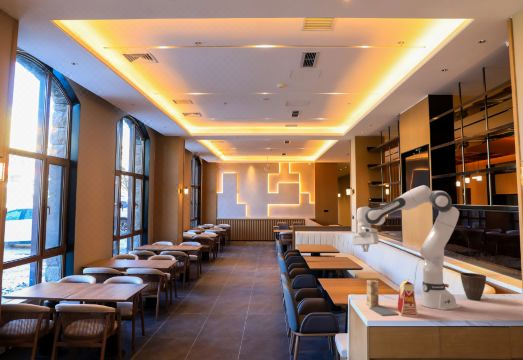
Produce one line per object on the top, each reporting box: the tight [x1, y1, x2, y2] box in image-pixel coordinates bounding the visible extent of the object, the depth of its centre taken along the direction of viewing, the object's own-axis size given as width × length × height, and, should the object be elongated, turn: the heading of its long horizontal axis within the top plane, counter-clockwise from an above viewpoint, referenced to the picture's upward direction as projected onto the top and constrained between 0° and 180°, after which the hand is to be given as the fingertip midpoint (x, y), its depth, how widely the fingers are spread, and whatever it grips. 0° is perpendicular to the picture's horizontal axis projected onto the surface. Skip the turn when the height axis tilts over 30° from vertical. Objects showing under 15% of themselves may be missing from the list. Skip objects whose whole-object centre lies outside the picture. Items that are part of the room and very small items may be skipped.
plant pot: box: [459, 272, 487, 302], centre depth 231 cm, size 15×15×16 cm
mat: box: [369, 306, 399, 317], centre depth 201 cm, size 10×14×1 cm
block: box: [366, 279, 380, 307], centre depth 213 cm, size 5×5×15 cm
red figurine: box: [396, 278, 419, 318], centre depth 198 cm, size 9×9×20 cm
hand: (365, 251), depth 228 cm, fingers closed
